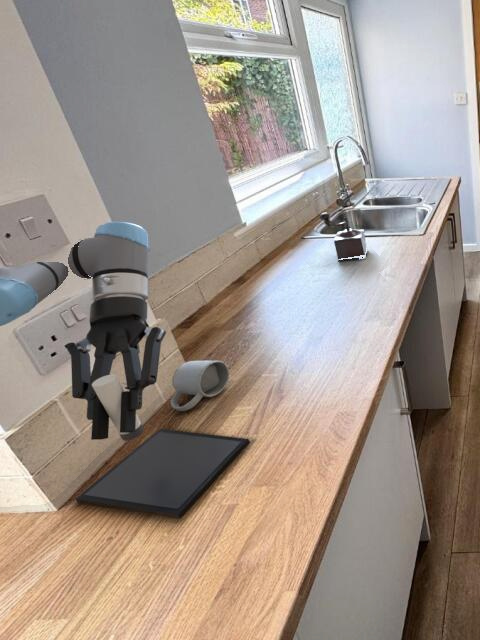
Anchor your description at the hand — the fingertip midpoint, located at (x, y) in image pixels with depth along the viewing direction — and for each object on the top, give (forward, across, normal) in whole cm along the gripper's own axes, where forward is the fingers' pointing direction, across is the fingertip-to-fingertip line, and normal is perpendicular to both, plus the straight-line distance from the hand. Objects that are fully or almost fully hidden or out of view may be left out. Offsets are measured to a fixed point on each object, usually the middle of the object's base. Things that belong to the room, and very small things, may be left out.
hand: (113, 435), depth 67 cm
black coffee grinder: (-58, +35, +74) cm, 101 cm away
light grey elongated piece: (0, 0, +5) cm, 5 cm away
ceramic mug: (-7, +4, +23) cm, 25 cm away
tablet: (+7, +4, +8) cm, 12 cm away
